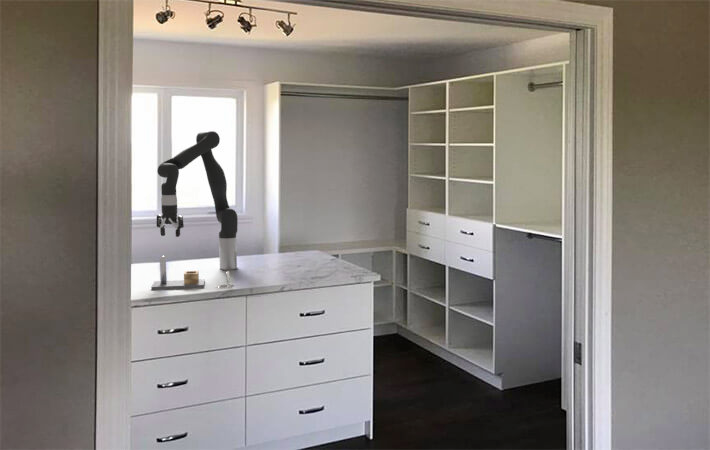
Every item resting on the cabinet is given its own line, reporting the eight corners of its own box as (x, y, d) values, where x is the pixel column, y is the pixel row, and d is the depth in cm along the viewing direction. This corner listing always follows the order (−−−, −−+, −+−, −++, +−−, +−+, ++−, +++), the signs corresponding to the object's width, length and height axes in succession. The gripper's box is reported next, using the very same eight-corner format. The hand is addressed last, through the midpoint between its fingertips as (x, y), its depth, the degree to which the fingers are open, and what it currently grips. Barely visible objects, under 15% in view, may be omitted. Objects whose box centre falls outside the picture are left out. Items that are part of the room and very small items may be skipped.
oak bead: (198, 280, 311) (198, 270, 310) (197, 283, 305) (197, 273, 304) (185, 281, 310) (184, 271, 309) (184, 284, 303) (183, 274, 303)
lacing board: (205, 282, 314) (204, 279, 314) (203, 287, 303) (203, 284, 302) (154, 284, 310) (154, 281, 310) (151, 290, 298) (151, 286, 298)
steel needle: (167, 282, 306) (165, 255, 305) (166, 284, 304) (165, 256, 302) (161, 283, 306) (159, 255, 304) (160, 284, 303) (159, 256, 301)
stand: (216, 286, 306) (232, 285, 309) (217, 288, 302) (234, 287, 304) (215, 270, 305) (232, 269, 308) (216, 272, 301) (233, 271, 303)
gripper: (185, 203, 315) (186, 236, 317) (161, 202, 320) (163, 234, 322) (176, 205, 308) (177, 238, 310) (152, 204, 313) (153, 236, 315)
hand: (170, 236), depth 316 cm, fingers open, 8 cm apart
